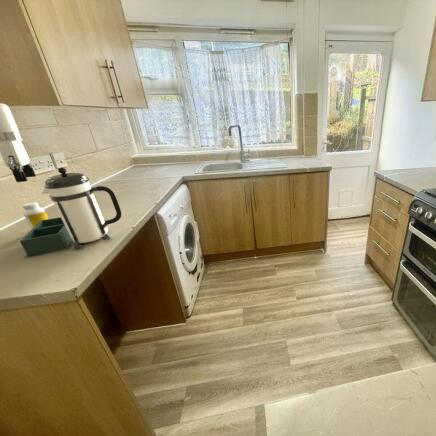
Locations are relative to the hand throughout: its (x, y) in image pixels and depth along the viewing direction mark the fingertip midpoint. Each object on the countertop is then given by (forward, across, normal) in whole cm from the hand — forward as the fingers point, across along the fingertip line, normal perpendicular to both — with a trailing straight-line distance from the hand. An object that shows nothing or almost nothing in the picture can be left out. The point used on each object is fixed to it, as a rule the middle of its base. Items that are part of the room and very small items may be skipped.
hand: (26, 179), depth 104 cm
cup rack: (+23, +19, +7) cm, 31 cm away
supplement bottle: (+23, +3, -1) cm, 23 cm away
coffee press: (+23, +26, +22) cm, 41 cm away
